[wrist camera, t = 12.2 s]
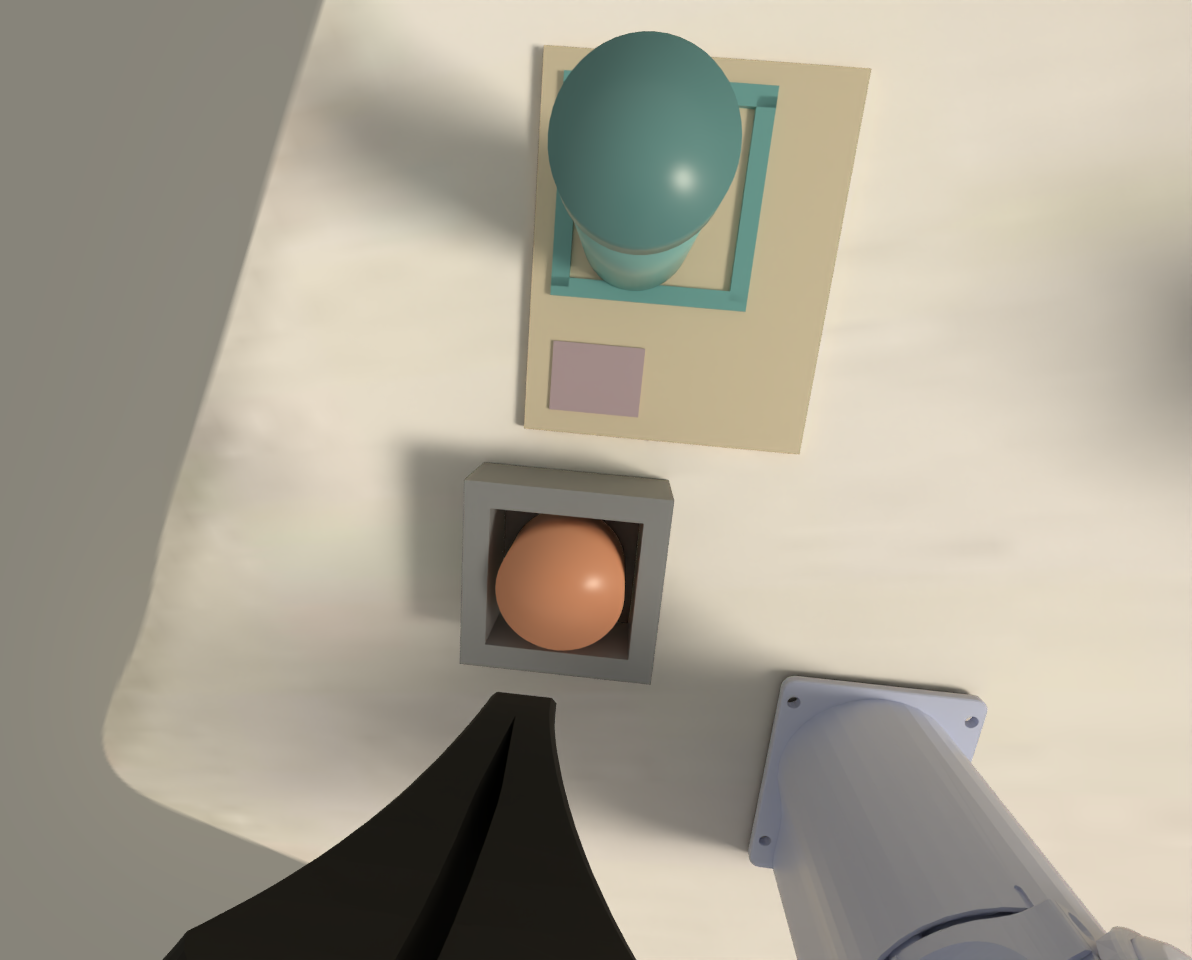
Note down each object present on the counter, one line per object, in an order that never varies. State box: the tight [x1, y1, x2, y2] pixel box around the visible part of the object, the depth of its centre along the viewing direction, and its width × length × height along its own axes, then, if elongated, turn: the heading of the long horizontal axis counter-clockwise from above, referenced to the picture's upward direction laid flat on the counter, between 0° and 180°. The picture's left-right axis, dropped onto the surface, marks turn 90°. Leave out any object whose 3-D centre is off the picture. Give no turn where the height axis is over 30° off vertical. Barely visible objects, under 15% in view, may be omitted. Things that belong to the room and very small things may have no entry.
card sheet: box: [524, 45, 871, 454], centre depth 18 cm, size 12×10×1 cm
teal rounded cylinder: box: [548, 31, 742, 291], centre depth 14 cm, size 4×4×8 cm
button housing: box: [460, 462, 674, 685], centre depth 20 cm, size 7×7×3 cm
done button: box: [495, 513, 625, 651], centre depth 20 cm, size 4×4×2 cm
